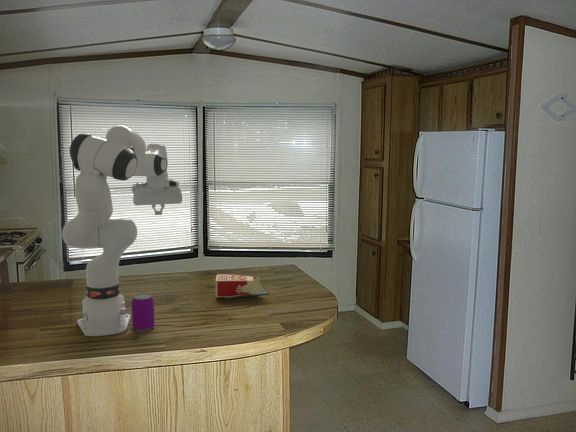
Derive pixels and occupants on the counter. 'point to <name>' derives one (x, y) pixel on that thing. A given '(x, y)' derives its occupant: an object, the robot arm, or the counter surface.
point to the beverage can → (142, 312)
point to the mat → (252, 294)
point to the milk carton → (236, 285)
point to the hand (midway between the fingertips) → (158, 214)
